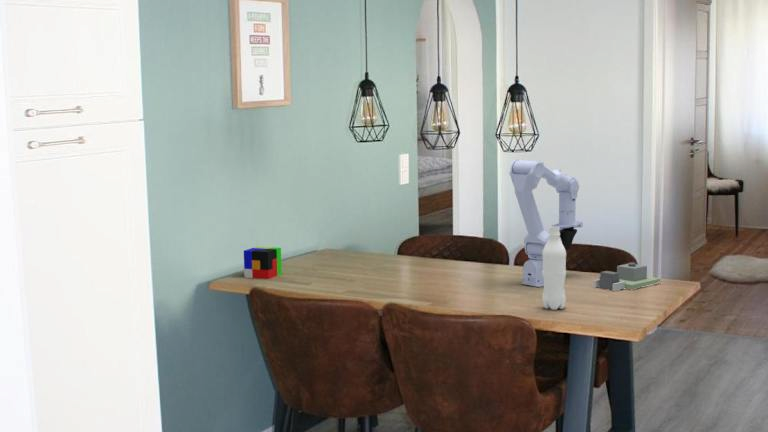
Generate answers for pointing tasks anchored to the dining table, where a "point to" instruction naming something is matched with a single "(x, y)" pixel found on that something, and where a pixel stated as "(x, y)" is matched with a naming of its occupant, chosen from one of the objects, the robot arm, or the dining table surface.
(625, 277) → the stepped base plate
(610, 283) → the grey block
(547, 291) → the water bottle
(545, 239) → the robot arm
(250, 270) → the puzzle toy
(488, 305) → the dining table surface
